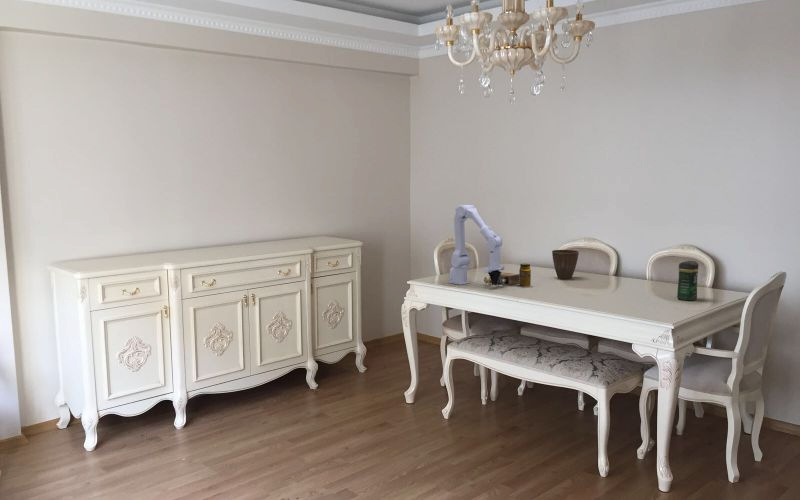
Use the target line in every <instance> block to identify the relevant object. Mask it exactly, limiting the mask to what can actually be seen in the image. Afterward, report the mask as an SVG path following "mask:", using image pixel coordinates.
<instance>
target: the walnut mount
mask: <svg viewBox="0 0 800 500" xmlns="http://www.w3.org/2000/svg"><path fill="white" fill-rule="evenodd" d="M507 278H508V282H504V283H502V284H501V285H500V286H505V285H506V286H507V287H513V285H519V273H513V272H512V273H511V272H504V271H501V274H500V276H499V278H498V279H507ZM491 283H492V281H491V282H490V283H489V284H491Z"/></svg>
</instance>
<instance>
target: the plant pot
mask: <svg viewBox="0 0 800 500" xmlns="http://www.w3.org/2000/svg"><path fill="white" fill-rule="evenodd" d="M551 253H552V254H551V256H552V260H553V267H554V270H555V271H554V272H555V273H556V276H557V279H559V280H562V281H569V280H571V279H572V278H573V275H574V273H575V270H576V266H577V264H578V259H579V254H580V253H579V250H574V249H573V250H572V249H553V250H552V251H551Z"/></svg>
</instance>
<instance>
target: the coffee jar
mask: <svg viewBox="0 0 800 500" xmlns="http://www.w3.org/2000/svg"><path fill="white" fill-rule="evenodd" d="M698 274H699V263H698V262H697V261H696V260H687V261H681V262H679V264H678V282H677V293H676V294H677V295H676V298H677V299H678V300H681V301H689V302H690V301H695V300H696V299H698V278H699V277H698Z"/></svg>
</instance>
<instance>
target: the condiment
mask: <svg viewBox="0 0 800 500" xmlns="http://www.w3.org/2000/svg"><path fill="white" fill-rule="evenodd" d="M518 272H519V273H518V274H519V285H513V286H514V287H516V288H521V289H522V288H530V287H533V285H531V282H532V281H531V280H532V279H531V277H532V276H531V272H532V270H531V264H530V263H521V264H520V265H519V271H518ZM513 286H512V287H513Z"/></svg>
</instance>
